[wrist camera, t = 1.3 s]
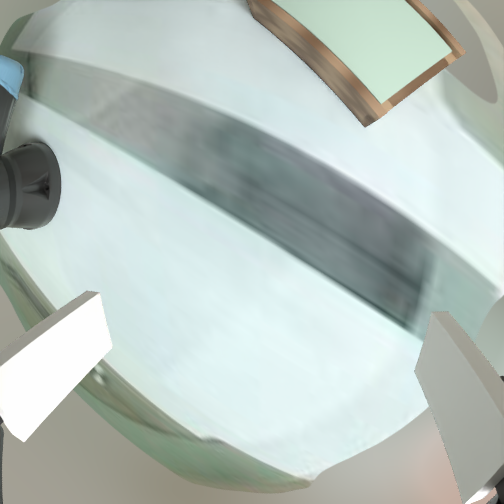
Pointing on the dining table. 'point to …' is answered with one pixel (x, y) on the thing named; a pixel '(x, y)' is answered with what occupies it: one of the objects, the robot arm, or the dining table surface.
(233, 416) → the dining table surface
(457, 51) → the box
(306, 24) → the mint green panel
